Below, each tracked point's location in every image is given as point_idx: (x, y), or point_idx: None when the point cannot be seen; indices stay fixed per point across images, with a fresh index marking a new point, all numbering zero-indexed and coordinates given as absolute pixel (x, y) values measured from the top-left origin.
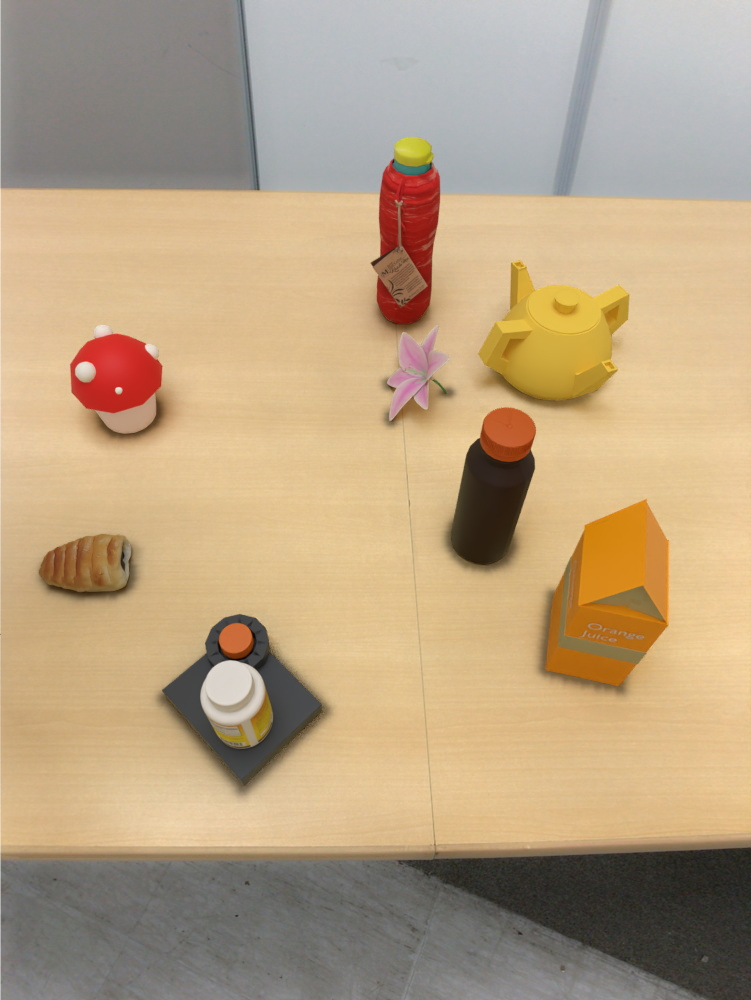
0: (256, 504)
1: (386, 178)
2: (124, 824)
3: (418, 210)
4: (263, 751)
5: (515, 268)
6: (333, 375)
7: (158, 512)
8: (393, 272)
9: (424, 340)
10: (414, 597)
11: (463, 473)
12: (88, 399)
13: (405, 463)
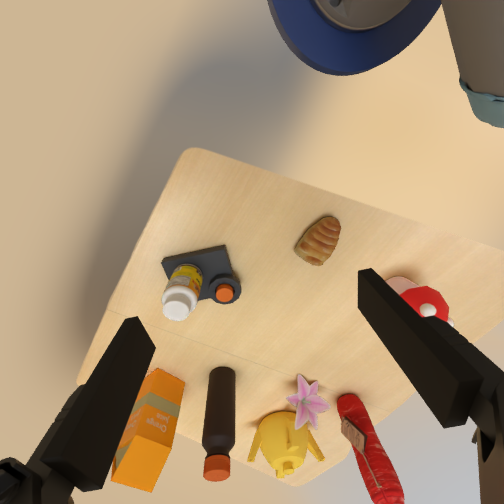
0: (297, 316)
1: (396, 493)
2: (170, 203)
3: (369, 483)
4: (170, 276)
5: (321, 458)
6: (338, 366)
7: (325, 278)
8: (355, 436)
9: (316, 416)
10: (212, 346)
11: (227, 421)
12: (411, 296)
13: (274, 369)
